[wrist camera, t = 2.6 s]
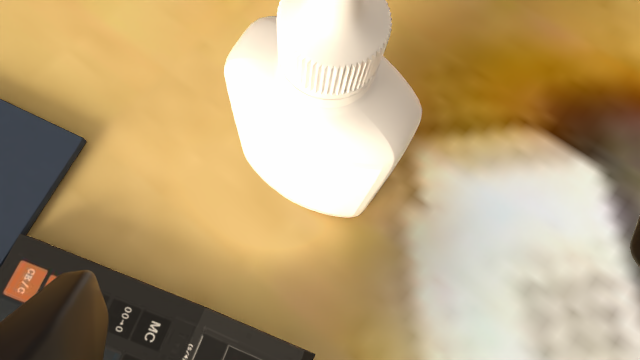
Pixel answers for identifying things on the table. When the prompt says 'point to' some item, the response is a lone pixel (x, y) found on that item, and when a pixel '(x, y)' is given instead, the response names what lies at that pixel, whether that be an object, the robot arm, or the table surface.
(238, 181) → the table surface
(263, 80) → the eye dropper bottle
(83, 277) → the robot arm
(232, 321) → the calculator
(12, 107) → the placemat
